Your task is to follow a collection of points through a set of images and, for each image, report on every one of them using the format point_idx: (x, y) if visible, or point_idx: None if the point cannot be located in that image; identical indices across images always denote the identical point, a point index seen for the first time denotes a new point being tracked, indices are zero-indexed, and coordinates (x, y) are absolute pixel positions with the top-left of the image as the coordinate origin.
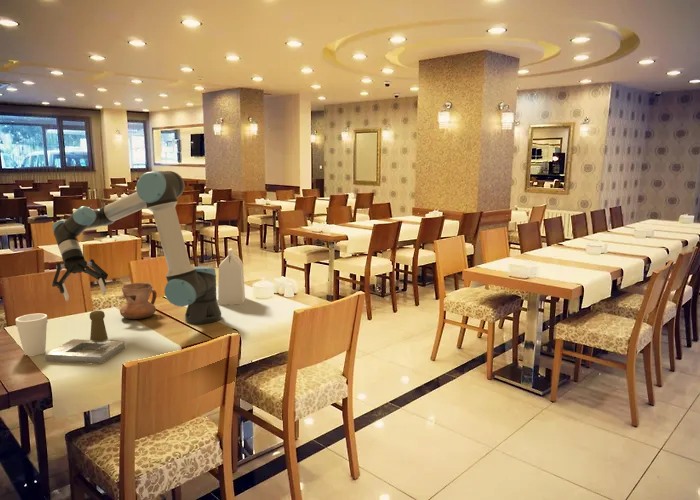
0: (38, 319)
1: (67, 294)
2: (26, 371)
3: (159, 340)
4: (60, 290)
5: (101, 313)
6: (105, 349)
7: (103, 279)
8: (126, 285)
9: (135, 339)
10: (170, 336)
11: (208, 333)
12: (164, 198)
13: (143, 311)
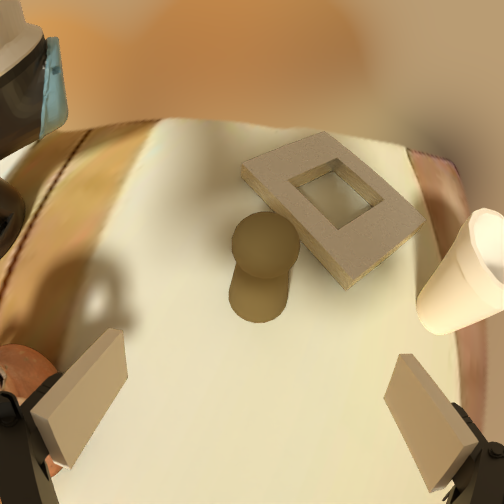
0: (483, 211)
1: (414, 368)
2: (444, 209)
3: (152, 168)
4: (462, 414)
5: (256, 213)
6: (301, 152)
7: (26, 410)
8: None
9: (183, 210)
10: (118, 174)
11: (71, 147)
12: None
13: (24, 347)
